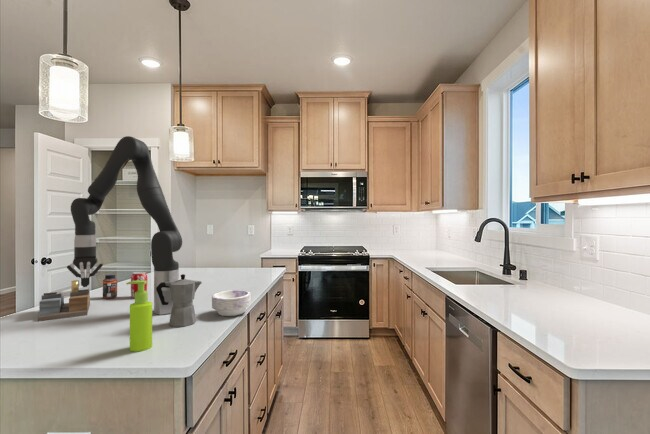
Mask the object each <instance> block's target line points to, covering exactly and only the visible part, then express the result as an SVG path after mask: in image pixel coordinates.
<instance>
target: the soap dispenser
mask: <svg viewBox="0 0 650 434" xmlns="http://www.w3.org/2000/svg"><path fill="white" fill-rule="evenodd" d="M146 283H147V284H148V280H147V281H143V280H136V281H131V280H130V281H128V282H126V283H125V284H126V285H127V286H128V285H131V284H138V291H137V292H135V298H134V303H131V304H130V305H129V351H130V352H143V351H147V350H149V349H151V348H152V347H153V302H152V301H149V300H148V294H149V293H148V290H147V291H145V290H144V284H146Z"/></svg>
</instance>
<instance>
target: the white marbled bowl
mask: <svg viewBox="0 0 650 434" xmlns="http://www.w3.org/2000/svg"><path fill="white" fill-rule="evenodd" d="M251 300H252V299H251V292H250V291H247V290H243V289H242V290H240V289H238V290H237V289H232V290H224V291H223V290H222V291H220V292H216V293H214V294H212V295H211V309H213V310H216V312H217V313H218V315H220V316H222V317H236V316H239V315H242V314H244V313H245V311H246V309H247V308H249V307H250V306H251V303H252V301H251Z"/></svg>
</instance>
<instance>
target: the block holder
mask: <svg viewBox="0 0 650 434" xmlns="http://www.w3.org/2000/svg"><path fill="white" fill-rule="evenodd" d="M57 292H58V291H55V292H43V295H41V299H40V301H39V304H38V306H39V307H38V308H39V315H38V316H37V322H43V321H51V320H58V319H59V320H60V319H67V318H74V317H83V316H88V313H89V311H90V310H89V309H90V306H91V300H90V297H91V295H90V293H91V292H90V288H88V289H79V291H78V292H74V293H70V296H69V298H68V302H66V303H65V296H64V297H61V294H56V293H57Z"/></svg>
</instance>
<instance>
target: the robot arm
mask: <svg viewBox="0 0 650 434" xmlns="http://www.w3.org/2000/svg"><path fill="white" fill-rule="evenodd" d="M129 160H130V161H131V162H132V164H133V165H134V168H135V171H136V174H137V181H136V193H137V196H138V199H139V201H140V204H141V206H142V208H143V209H144V211H146V213H147V214H148V215H149V216H150V217H151V219H152V220H154V222H155V224H156V226H157V227H158V230H159V231H157V232H156V233H154V234H153V236H152V237H151V243H150V253H151V263H152V265H153V313H154V314H155V315H160V316H162V315H167V314H171V310H172V307H173V302H172V300H171V293H170V288H165V287H163V288H161V290H162V292H163V296H164V299H165V302H169V303H168V305H162V303H161V301H160V298H159V295H158V293H157V291H156V288H157V286H158V285H159V284H160V283H161V282H174V281H177V280H180V279H179V274H180V272H179V266H180V265H179V262H178V261H176V260H174V256H173V255H174V254H173V253H176V252H178V251H179V250H181V248H182V246H183V239H182V235H181V233H180V231H179V228H178V227H177V225H176V223H175V221H174V218H173V217H172V214H171V212H170V208H169V207H168V204H167V200H166V197H165V195H164V192H163V190H162V186H161V184H160V182H159V179H158V177H157V176H158V175H157V174H156V172H155V169H154V168H155V167H154V165H153V161H152V156H151V153H150V149H149V147H148V145H147V144H146V143H145V142H144V141H142V140H141V139H139V138H135V137H134V136H129V135H128V136H127V135H126V136H123V137H121V138H120V139H119V141H118V142H117V144H116V145H115V147H114V149H113V150H112V152H111V154H110V156H109V158H108V160H107V161H106V163H105V164H104V167H103V168H102V170H101V171H100V173H99V174H98V175H97V176H96V178H95V179H94V180H93V182H91V184H90V185H89V186H88V188H87V193H88V194H89V195H88V197H87V198H85V197H77V198H75V199H74V200H72V202H71V204H70V213H71V216H72V220H73V223H74V234H75V235H74V239H73V242H74V244H73V245H74V248H73V251H74V252H73V254H74V255H73V256H74V257H73V260H72V263H70V264H68V265H67V266H66V269H68V271H69V272H70V273H71V274H73V276H75V277H76V278H79V279H80V286H82V287H83V288H88V286H89V285H90V278H91V277H94V276H95V275H96V274H97V273H98V272H99V270H101V268H102V267H103V266H104V264H103V263H101V262H100V261H99V260H98V258H97V238H96V237H97V236H96V223H95V221H94V220H91V219H90V216H93V215H95V214H96V213H98V212H99V211H100V210H101V208H102V205H104V202H105V199H106V197H107V196H108V195H109V193H110V192H111V191H112V190H113V188H114V187H115V185H116V184H117V182H118V178H119V177H118V176H119V175H120V171H121V169H122V167H123V166H124V164H125V163H126V162H128V161H129ZM94 266H95V267H96V268H95V269H93V268H94ZM75 267H76V268H77V269H78V270H80V272H78V271H77V270H76V269H75ZM92 269H93V271H92V272H91V270H92ZM85 270H86V272H85Z"/></svg>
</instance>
